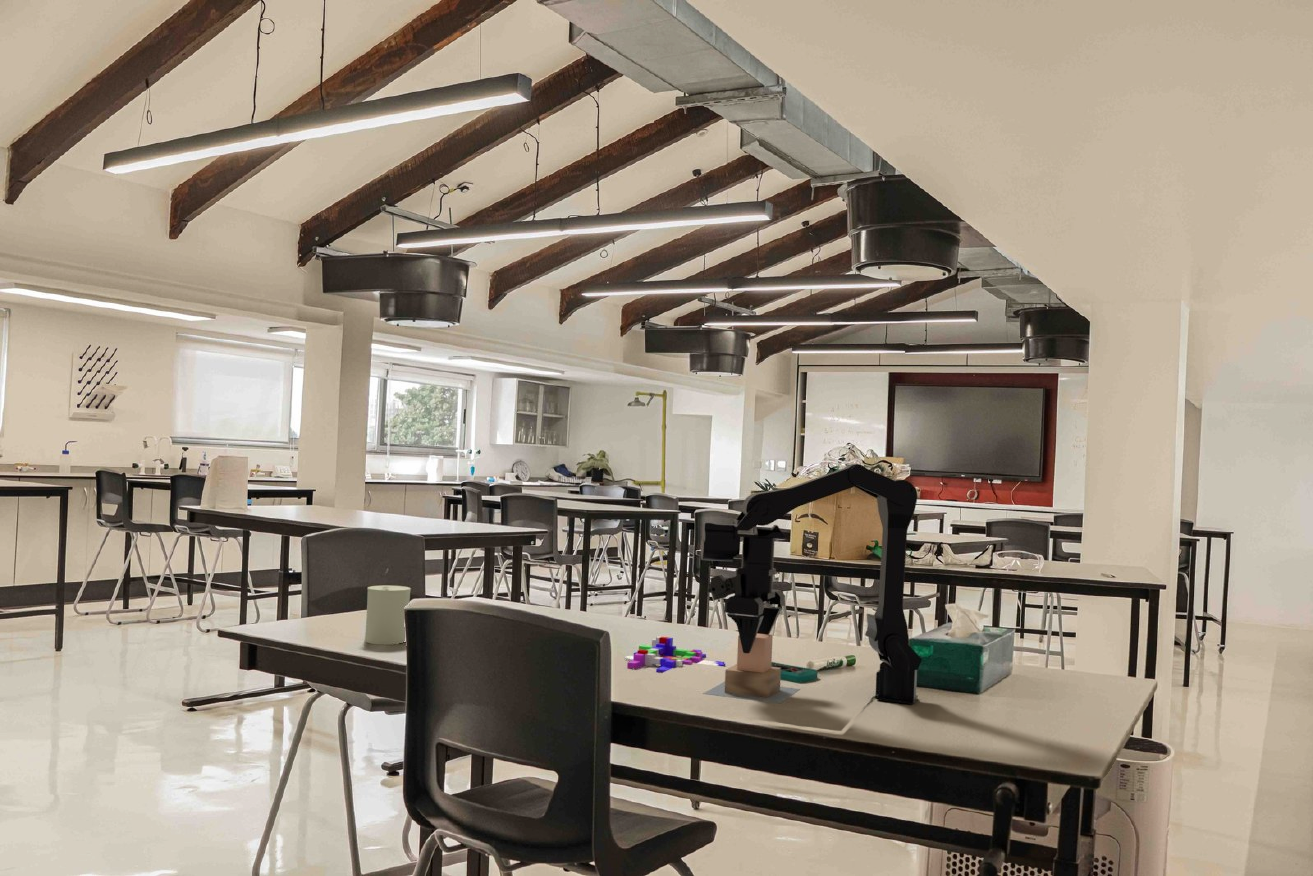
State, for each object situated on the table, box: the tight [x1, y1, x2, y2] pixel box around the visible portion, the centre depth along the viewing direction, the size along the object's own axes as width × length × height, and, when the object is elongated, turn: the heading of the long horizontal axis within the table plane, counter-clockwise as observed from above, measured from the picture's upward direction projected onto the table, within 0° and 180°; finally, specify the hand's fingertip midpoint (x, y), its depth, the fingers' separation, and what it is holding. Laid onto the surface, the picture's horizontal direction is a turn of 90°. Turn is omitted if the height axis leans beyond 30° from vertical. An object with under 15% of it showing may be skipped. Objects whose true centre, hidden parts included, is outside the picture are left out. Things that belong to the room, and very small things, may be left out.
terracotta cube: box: [736, 633, 774, 673], centre depth 186 cm, size 5×5×6 cm
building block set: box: [624, 635, 726, 673], centre depth 215 cm, size 25×20×4 cm
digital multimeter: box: [771, 661, 818, 684], centre depth 202 cm, size 7×15×3 cm, turn 51°
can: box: [363, 584, 412, 646], centre depth 223 cm, size 9×9×12 cm
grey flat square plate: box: [702, 681, 801, 704], centre depth 186 cm, size 14×14×1 cm
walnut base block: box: [724, 663, 781, 698], centre depth 186 cm, size 8×8×4 cm
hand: (753, 649), depth 186 cm, fingers open, 9 cm apart
